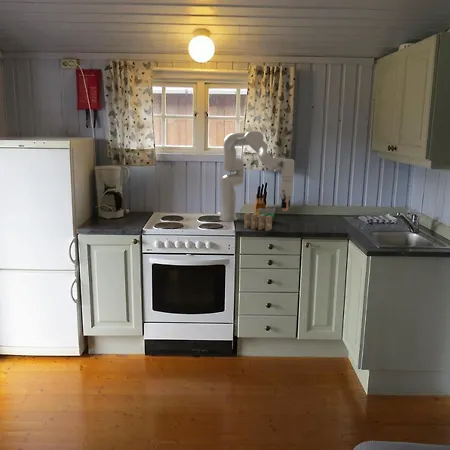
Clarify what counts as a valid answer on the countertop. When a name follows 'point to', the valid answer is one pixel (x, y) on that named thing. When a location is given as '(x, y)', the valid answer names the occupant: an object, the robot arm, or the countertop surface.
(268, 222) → the domino
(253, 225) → the domino
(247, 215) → the domino
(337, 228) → the countertop surface
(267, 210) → the food container
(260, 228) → the domino
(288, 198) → the domino
